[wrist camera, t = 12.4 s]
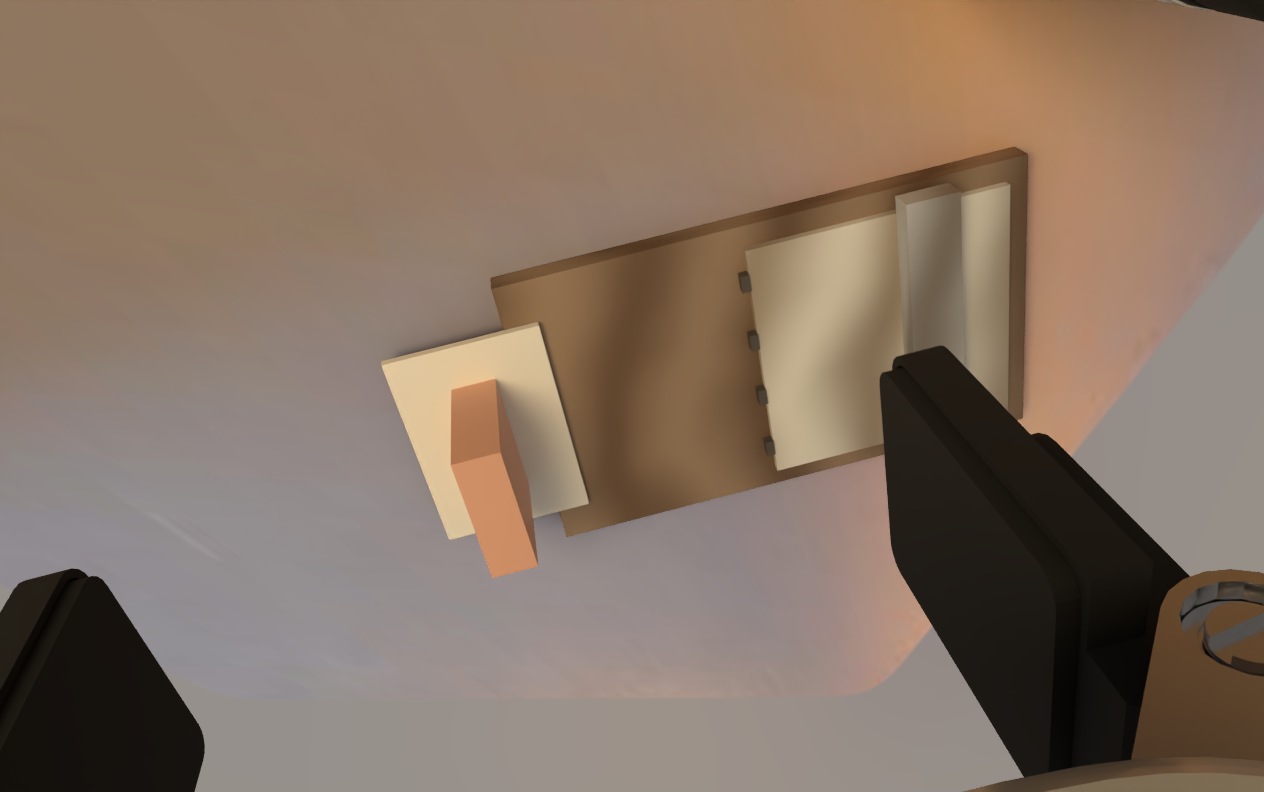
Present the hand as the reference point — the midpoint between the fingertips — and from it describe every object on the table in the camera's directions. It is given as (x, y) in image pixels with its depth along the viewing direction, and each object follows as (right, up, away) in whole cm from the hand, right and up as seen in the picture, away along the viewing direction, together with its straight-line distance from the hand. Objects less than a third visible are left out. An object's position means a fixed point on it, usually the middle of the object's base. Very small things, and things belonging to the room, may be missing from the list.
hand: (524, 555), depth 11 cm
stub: (-5, 0, +33) cm, 33 cm away
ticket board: (+8, +4, +35) cm, 36 cm away
